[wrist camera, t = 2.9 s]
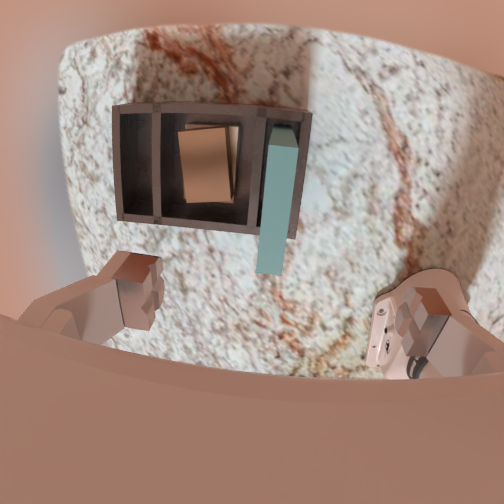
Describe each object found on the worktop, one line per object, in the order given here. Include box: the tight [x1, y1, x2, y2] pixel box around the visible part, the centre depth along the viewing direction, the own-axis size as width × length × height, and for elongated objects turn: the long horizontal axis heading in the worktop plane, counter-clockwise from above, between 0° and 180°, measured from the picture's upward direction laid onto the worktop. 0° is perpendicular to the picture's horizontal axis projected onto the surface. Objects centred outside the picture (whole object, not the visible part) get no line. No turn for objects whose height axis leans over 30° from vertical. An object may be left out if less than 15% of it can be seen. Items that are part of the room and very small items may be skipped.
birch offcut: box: [184, 122, 241, 203], centre depth 36 cm, size 9×6×2 cm, turn 175°
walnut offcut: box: [178, 125, 234, 203], centre depth 34 cm, size 8×5×2 cm, turn 3°
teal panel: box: [256, 124, 299, 275], centre depth 30 cm, size 10×2×16 cm, turn 175°
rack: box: [112, 101, 313, 239], centre depth 35 cm, size 14×22×6 cm, turn 85°
